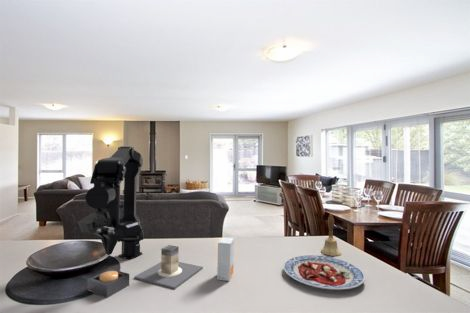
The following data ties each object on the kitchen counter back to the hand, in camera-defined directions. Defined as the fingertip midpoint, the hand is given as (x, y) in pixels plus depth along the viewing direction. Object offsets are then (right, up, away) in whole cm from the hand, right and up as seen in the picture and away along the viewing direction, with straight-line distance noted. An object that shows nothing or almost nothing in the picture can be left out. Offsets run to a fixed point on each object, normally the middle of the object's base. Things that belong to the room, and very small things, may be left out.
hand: (109, 254), depth 78 cm
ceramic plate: (+67, -11, +11) cm, 69 cm away
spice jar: (+15, -10, +11) cm, 21 cm away
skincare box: (+34, -11, +9) cm, 37 cm away
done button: (0, -9, 0) cm, 9 cm away
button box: (0, -10, 0) cm, 10 cm away
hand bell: (+78, -11, +32) cm, 85 cm away
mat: (+16, -10, +11) cm, 22 cm away
